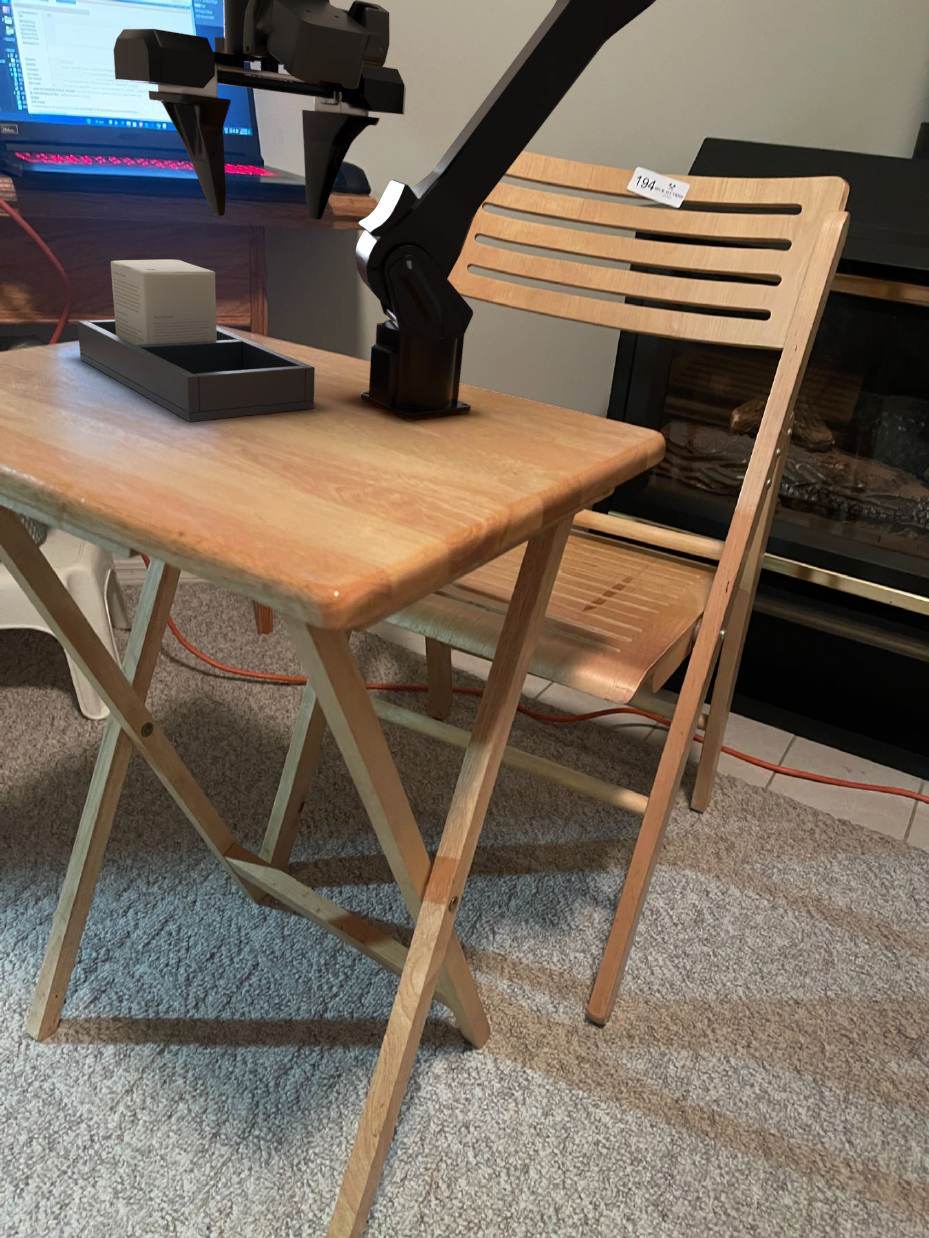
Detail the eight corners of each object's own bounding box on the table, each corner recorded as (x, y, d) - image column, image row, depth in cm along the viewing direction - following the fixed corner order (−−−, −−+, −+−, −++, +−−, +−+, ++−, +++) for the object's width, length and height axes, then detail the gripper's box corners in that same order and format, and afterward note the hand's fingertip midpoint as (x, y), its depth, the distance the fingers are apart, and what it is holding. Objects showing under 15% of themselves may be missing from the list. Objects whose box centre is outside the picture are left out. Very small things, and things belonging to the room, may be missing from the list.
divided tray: (194, 352, 83) (193, 316, 82) (314, 408, 71) (315, 367, 69) (80, 359, 77) (76, 320, 76) (189, 422, 64) (187, 377, 63)
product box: (219, 365, 76) (217, 271, 73) (148, 371, 73) (142, 271, 69) (184, 349, 80) (181, 259, 77) (114, 353, 77) (108, 258, 73)
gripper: (187, -101, 47) (196, 229, 55) (466, -29, 59) (443, 237, 66) (101, -83, 55) (119, 207, 62) (364, -22, 66) (354, 217, 73)
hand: (268, 217), depth 65 cm, fingers open, 7 cm apart
